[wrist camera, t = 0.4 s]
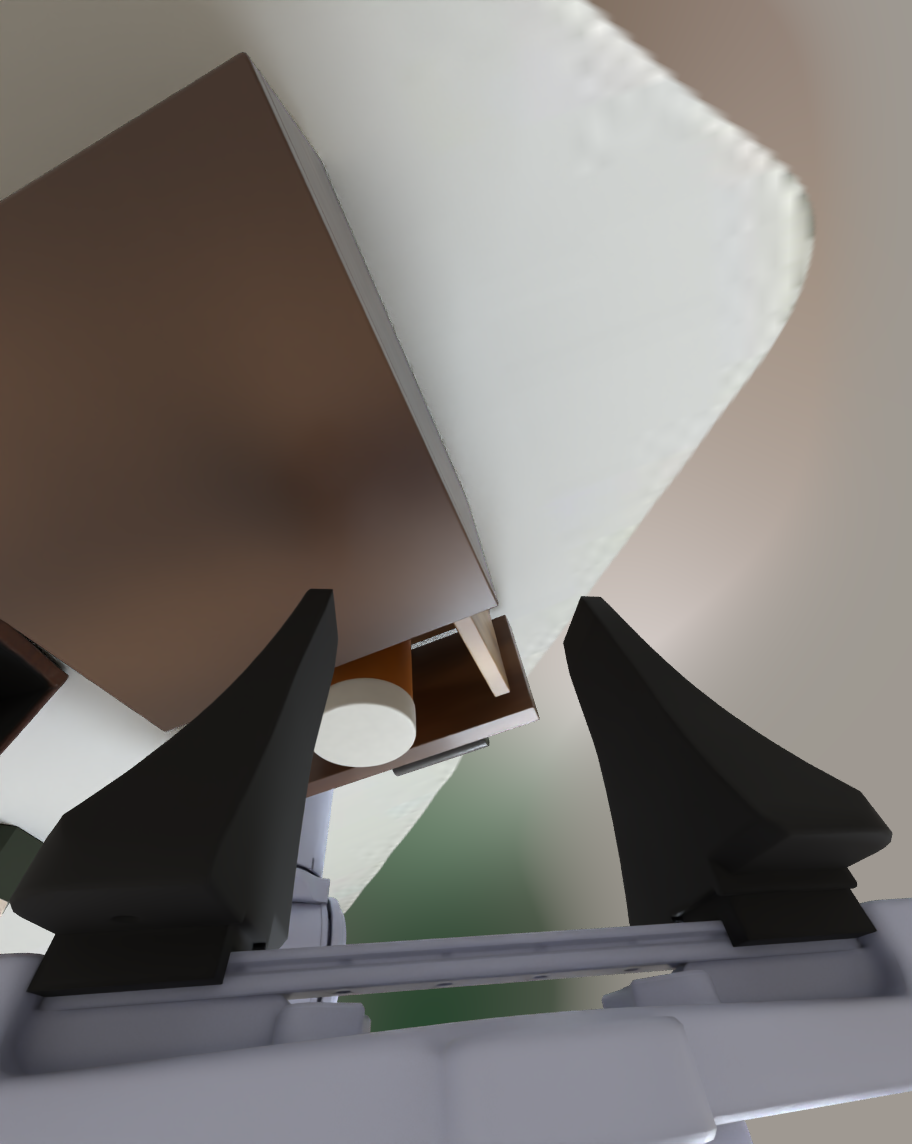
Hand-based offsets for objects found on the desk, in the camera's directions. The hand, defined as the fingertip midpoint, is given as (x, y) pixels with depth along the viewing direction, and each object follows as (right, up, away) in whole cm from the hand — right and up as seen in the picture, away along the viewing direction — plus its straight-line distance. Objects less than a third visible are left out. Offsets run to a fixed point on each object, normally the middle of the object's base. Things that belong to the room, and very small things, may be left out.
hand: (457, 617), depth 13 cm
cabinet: (-9, +8, +7) cm, 13 cm away
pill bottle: (-5, -1, +11) cm, 12 cm away
